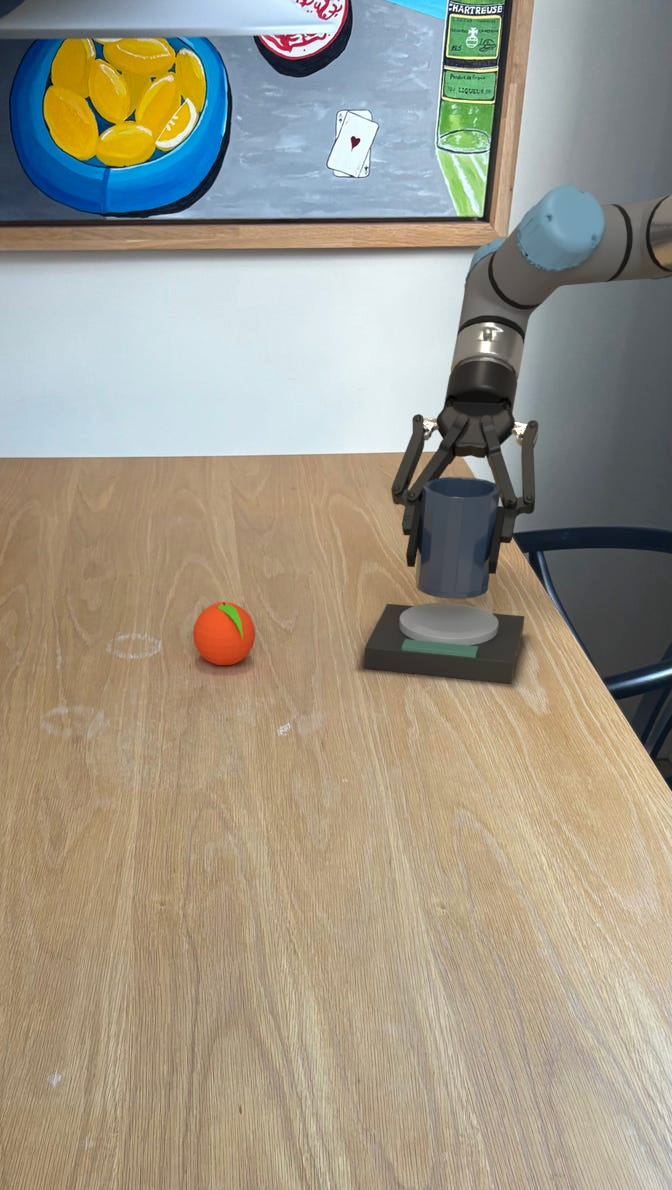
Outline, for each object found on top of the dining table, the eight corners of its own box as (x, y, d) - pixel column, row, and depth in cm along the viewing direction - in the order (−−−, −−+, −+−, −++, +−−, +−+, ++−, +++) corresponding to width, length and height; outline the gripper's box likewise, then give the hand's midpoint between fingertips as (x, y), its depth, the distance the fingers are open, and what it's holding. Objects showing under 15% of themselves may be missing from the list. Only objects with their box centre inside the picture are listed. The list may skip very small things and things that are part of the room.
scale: (522, 636, 143) (525, 607, 141) (510, 683, 132) (514, 653, 130) (385, 623, 147) (387, 595, 145) (363, 668, 136) (365, 638, 134)
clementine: (270, 671, 136) (271, 610, 132) (215, 683, 133) (214, 621, 129) (237, 646, 142) (237, 587, 138) (183, 658, 139) (181, 598, 136)
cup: (492, 577, 139) (503, 479, 133) (484, 601, 132) (495, 500, 126) (421, 571, 141) (429, 474, 135) (410, 595, 134) (418, 494, 128)
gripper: (387, 353, 135) (351, 540, 131) (583, 360, 130) (552, 556, 125) (392, 393, 143) (358, 572, 138) (578, 401, 137) (548, 588, 133)
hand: (450, 564), depth 132 cm, fingers closed on cup, 8 cm apart
